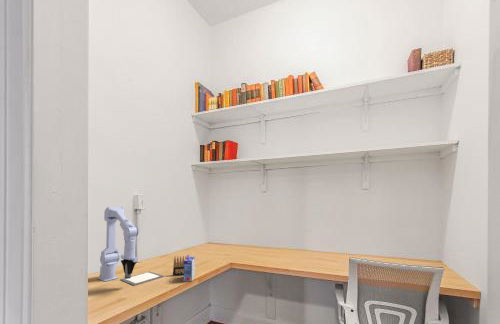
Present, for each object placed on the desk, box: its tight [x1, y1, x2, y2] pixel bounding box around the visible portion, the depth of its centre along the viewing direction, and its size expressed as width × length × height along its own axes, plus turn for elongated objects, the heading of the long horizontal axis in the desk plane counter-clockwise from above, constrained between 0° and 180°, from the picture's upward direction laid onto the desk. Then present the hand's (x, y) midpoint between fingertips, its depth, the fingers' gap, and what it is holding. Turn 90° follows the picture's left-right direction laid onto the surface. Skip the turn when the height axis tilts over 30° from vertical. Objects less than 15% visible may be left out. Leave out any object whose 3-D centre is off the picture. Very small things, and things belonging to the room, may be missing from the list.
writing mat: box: [119, 271, 164, 286], centre depth 155 cm, size 16×20×1 cm
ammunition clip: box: [172, 255, 190, 277], centre depth 163 cm, size 11×2×12 cm, turn 100°
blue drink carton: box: [183, 254, 196, 282], centre depth 155 cm, size 10×6×14 cm, turn 2°
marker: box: [124, 264, 132, 279], centre depth 140 cm, size 3×3×8 cm
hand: (128, 273), depth 140 cm, fingers closed on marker, 3 cm apart
